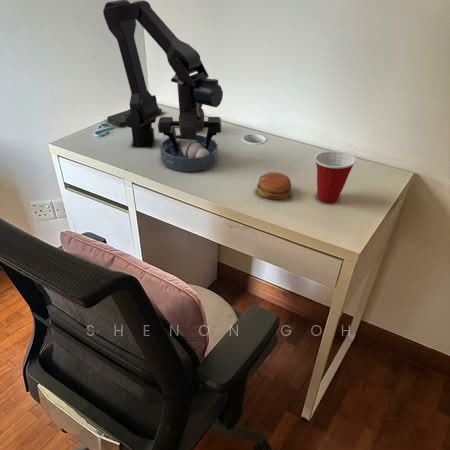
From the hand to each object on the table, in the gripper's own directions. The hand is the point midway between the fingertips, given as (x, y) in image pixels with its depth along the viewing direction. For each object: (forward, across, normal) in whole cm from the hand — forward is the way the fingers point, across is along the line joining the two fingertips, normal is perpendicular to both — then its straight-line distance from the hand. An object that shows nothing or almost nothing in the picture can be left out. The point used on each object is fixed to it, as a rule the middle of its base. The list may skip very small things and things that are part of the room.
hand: (191, 152), depth 131 cm
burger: (+3, +24, -19) cm, 31 cm away
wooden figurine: (+3, 0, +24) cm, 24 cm away
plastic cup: (+4, +39, -22) cm, 45 cm away
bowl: (+2, -1, 0) cm, 2 cm away
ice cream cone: (+2, -1, 0) cm, 2 cm away
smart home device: (+2, -24, +34) cm, 41 cm away
